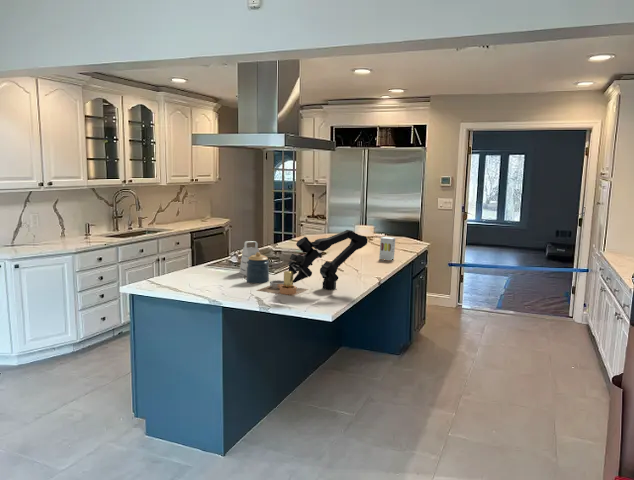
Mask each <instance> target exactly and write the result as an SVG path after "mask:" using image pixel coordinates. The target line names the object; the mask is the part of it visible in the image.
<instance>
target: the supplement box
mask: <svg viewBox="0 0 634 480" xmlns="http://www.w3.org/2000/svg"><path fill="white" fill-rule="evenodd" d="M395 249H396V237H390V236H382V237H380V244H379V257H378V258H379V259H385V260H392V259H394V260H395V252H396V251H395ZM392 261H393V260H392Z"/></svg>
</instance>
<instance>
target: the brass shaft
mask: <svg viewBox="0 0 634 480" xmlns="http://www.w3.org/2000/svg"><path fill="white" fill-rule="evenodd" d="M293 280H294V275H293V271H288V270H284V271H283V281H284V288H293V286H294V283H293Z"/></svg>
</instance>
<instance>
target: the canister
mask: <svg viewBox="0 0 634 480" xmlns="http://www.w3.org/2000/svg"><path fill="white" fill-rule="evenodd" d="M248 259H249V260H248V261H247V264H248V265H247V276H246V279H245V280H246V283H250V284H251V283H252V284H265V283H268V282H270V275H269V273H270V272H269V271H270V267H269V265H270V261H269V258H268V256H266V255H262V254H261V252H260V251H259V252H257V253H256V254H255V255H252V256H250V257H249V258H248Z"/></svg>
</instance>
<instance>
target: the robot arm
mask: <svg viewBox="0 0 634 480" xmlns="http://www.w3.org/2000/svg"><path fill="white" fill-rule="evenodd" d="M348 239H349V240H350V242H349V244H348V245H347V247H345V248H344V249H343V250H342V251H341V252H340V253H339V254H337V256H336V257H335V258H334V259H332V261H328V260H327V261H325V262H324V263H323V264H322V265H320V266H321V267H320V269H319V274H320V275H321V277H322V279H323V281H322V289H323V290H327V291H335V290H336V291H338V290H337V289H338V288H337V281H338V279H339V276H338V275H337V274H336V273H337V272H338V268H339V267H340V266H342V264H343V263H345V261H347V259H349V258H350V257H351V256H352V255H353V254H354V253H355V252H356V251H357V250H360V249H362V248H364V247H365V246H367V244H368V237H367V236H365V235H362V234H358V233H356V232H355V231H353V230H350V229H345V230H344V231H342V232H340V233H337V234H334V235H331V236H328V237H324V238H323V237H322V238H317V239H315V240H314V241H310V240H309V238H308V237H307V236H303V237H302V238H300V239H298V240H297V242H296V244H295V246H297V248H298V249H299V250H300V251H301V252H302V253H305V254H303V255H302V254H294V253H291V255H290V257H289V261H288V262H287V264H288V270H287V271H293V276H294V275H296V276H295V277H293V284H296V283H297V282H299V281H301V280H304V279H307V278H310V277H312V276H313V271H312V270H311V269H310V266H313V263H314V261H315V260H316V259H317V258H319V259H322V257H323V255H322V252H326V251H327V250H329V248H331V246H334V245H336V244H339V243H340V242H343V241H345V240H348ZM319 251H320V252H319Z"/></svg>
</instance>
